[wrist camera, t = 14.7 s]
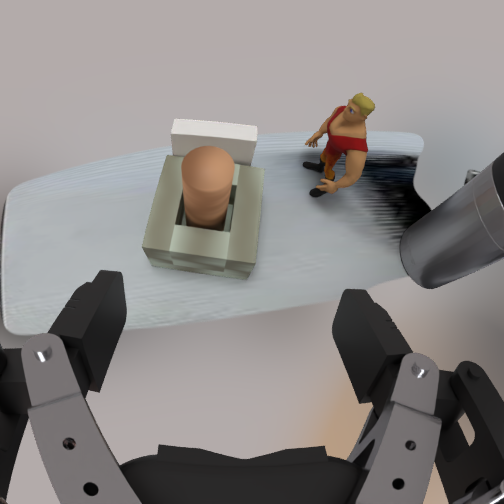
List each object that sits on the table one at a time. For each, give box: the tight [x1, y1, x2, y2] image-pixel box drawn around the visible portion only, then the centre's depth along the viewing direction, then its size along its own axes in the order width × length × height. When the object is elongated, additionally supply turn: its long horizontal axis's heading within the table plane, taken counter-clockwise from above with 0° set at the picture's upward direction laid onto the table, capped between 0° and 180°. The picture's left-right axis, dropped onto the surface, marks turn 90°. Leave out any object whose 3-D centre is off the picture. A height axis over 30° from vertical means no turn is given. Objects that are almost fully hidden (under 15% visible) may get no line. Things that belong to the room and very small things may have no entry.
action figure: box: [303, 93, 375, 197], centre depth 30 cm, size 10×4×15 cm, turn 6°
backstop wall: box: [171, 119, 257, 166], centre depth 31 cm, size 8×2×9 cm, turn 88°
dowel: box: [181, 146, 235, 232], centre depth 26 cm, size 4×4×10 cm
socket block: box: [142, 155, 265, 280], centre depth 30 cm, size 10×10×6 cm
